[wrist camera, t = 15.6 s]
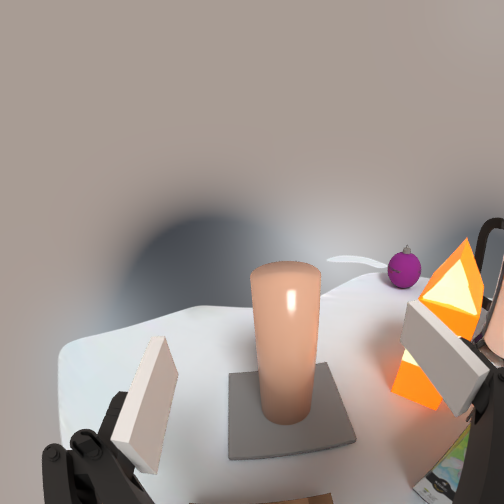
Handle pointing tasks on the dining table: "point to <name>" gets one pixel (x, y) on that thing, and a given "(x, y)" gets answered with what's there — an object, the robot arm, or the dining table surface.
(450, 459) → the tea box
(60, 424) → the dining table surface
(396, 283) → the christmas ornament
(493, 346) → the coffee press
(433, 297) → the orange juice
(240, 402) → the mat
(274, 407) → the tall peach cylinder
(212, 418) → the dining table surface
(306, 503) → the pocket
